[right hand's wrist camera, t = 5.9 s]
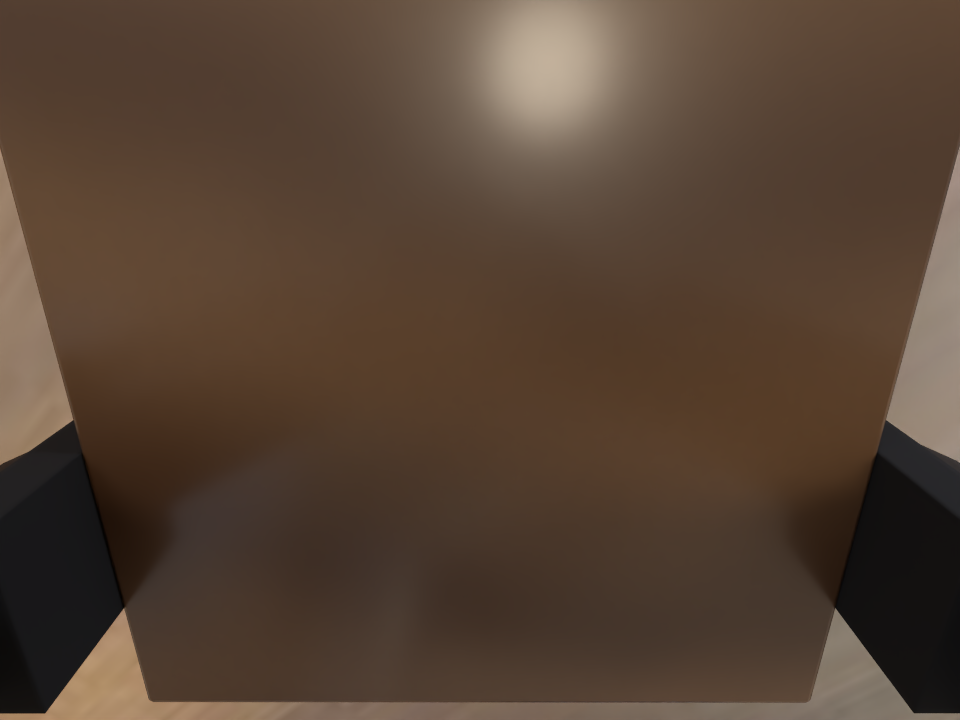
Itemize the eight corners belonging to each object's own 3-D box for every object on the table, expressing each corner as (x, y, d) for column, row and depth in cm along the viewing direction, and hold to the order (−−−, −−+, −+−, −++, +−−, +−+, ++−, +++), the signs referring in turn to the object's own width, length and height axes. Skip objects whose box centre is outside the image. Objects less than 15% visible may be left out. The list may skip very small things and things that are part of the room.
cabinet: (189, -393, 11) (-478, -1602, 3) (770, -393, 11) (1438, -1607, 3) (294, 451, 18) (147, 705, 10) (665, 452, 18) (812, 705, 10)
